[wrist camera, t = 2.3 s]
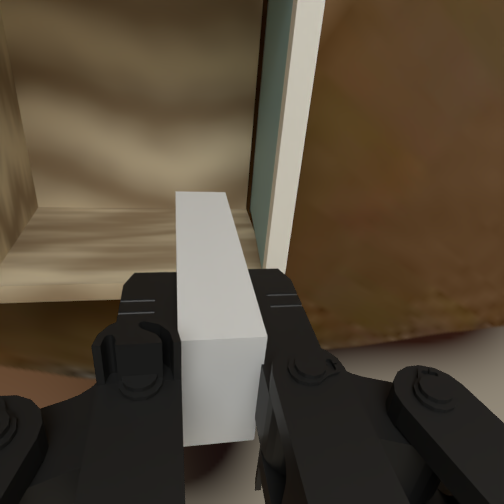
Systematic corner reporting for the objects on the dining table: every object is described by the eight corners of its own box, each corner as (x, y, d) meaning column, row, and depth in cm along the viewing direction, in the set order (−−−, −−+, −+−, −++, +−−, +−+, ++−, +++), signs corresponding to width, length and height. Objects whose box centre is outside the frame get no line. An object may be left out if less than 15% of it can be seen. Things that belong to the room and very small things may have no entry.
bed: (-36, -96, 24) (-188, -171, 14) (265, -56, 27) (320, -94, 17) (28, 215, 34) (-33, 304, 24) (243, 216, 37) (270, 294, 27)
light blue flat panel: (268, -39, 27) (306, -72, 16) (286, -37, 27) (335, -68, 17) (247, 209, 36) (262, 294, 25) (261, 209, 36) (281, 294, 26)
